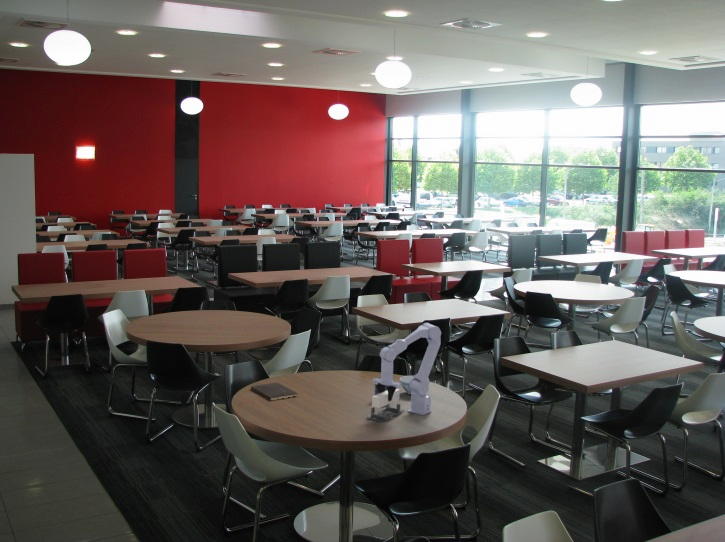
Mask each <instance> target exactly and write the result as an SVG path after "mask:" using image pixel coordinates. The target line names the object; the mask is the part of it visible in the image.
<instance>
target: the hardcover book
mask: <svg viewBox="0 0 725 542" xmlns="http://www.w3.org/2000/svg"><path fill="white" fill-rule="evenodd" d="M250 390H251V391H252V392H254V393H256V394H258V395H259V394H260V395H259V396H261V397H263V398H265V399H266V400H268V401H270V402H271V400H272V401H277V399H278V400H283V399H282V398H284V399H289V398H288V397H290V398H294V397H293V396H296V397H298V394H299V393H298V392H296V391H295V390H292V389H290V388H288V387H287V386H285V385H283V384H281V383H280V382H271V383H263V384H259V385H258V384H257V385H251V386H250Z"/></svg>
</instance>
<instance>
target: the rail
mask: <svg viewBox="0 0 725 542" xmlns="http://www.w3.org/2000/svg"><path fill="white" fill-rule="evenodd" d="M400 394H401V390H400V388H397V389H396V390H395V392H394V394H393V397H392V401H388V390H387V391H384V392H382V393H379V394H377V395H375V394H374V395H372V396H371V397H372V399H371V407H375V408H376V409H380V408H382V407H386V405H387V404H389V405H390V404H392V403H394V402H396V401H397V402H398V401H400Z"/></svg>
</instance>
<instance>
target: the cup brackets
mask: <svg viewBox="0 0 725 542" xmlns="http://www.w3.org/2000/svg"><path fill="white" fill-rule="evenodd" d="M375 408H376V407H373V406H371V407H370V414H369V415H368V416H366V419H368V420H371V421H373V422H378V423H383V422H385V421H387V420H389V418H390V419H391V417H392V418H393V416H394V417H396V416H398V415H400V413H401V414H403V413H404V412H405V410H402V409H401V403H400V402H398V403H396V406H392V405H390V404H387V405H385V408H384V409H382V410H379V411H378V412H376V409H375ZM402 412H403V413H402Z"/></svg>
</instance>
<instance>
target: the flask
mask: <svg viewBox="0 0 725 542" xmlns="http://www.w3.org/2000/svg"><path fill="white" fill-rule="evenodd" d="M377 384H378V383H374V395H377V394H379V391H378V389H377V387H376V385H377ZM388 387H390V386H387V385H386V386H385V391H387V388H388Z"/></svg>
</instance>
